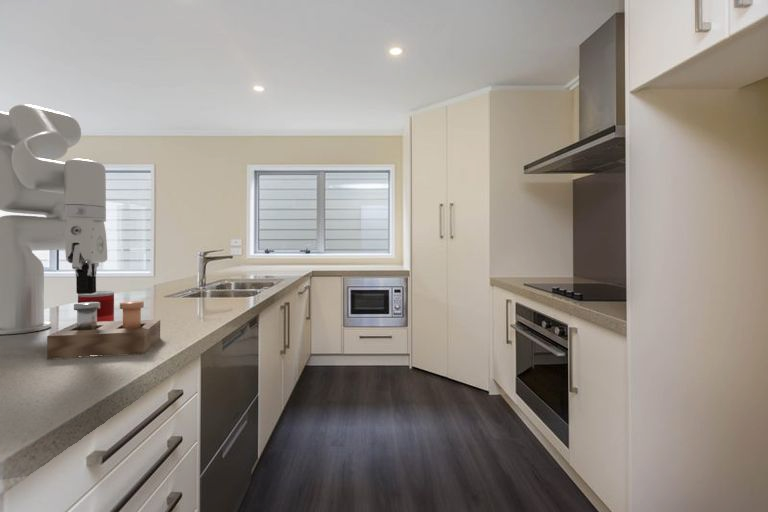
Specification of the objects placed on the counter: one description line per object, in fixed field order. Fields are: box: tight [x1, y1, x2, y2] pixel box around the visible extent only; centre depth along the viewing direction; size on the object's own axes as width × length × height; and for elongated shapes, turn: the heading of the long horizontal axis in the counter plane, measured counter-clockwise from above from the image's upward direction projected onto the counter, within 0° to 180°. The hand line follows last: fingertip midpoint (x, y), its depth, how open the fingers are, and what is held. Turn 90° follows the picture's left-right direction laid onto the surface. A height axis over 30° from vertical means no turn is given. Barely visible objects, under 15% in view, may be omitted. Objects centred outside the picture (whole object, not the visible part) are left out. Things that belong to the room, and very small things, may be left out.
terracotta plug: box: [119, 300, 145, 329], centre depth 90 cm, size 5×5×7 cm
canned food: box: [77, 290, 115, 322], centre depth 103 cm, size 8×8×11 cm
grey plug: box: [73, 302, 100, 330], centre depth 87 cm, size 5×5×7 cm
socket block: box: [46, 319, 161, 360], centre depth 88 cm, size 18×14×5 cm
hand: (86, 293), depth 86 cm, fingers closed
